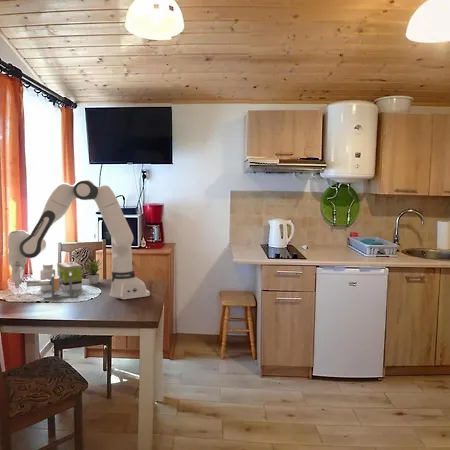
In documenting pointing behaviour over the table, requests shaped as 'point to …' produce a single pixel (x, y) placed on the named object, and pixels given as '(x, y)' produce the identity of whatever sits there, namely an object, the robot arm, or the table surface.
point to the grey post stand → (61, 294)
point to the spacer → (56, 283)
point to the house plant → (93, 272)
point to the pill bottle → (47, 275)
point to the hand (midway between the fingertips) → (18, 286)
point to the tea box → (64, 274)
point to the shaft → (42, 283)
